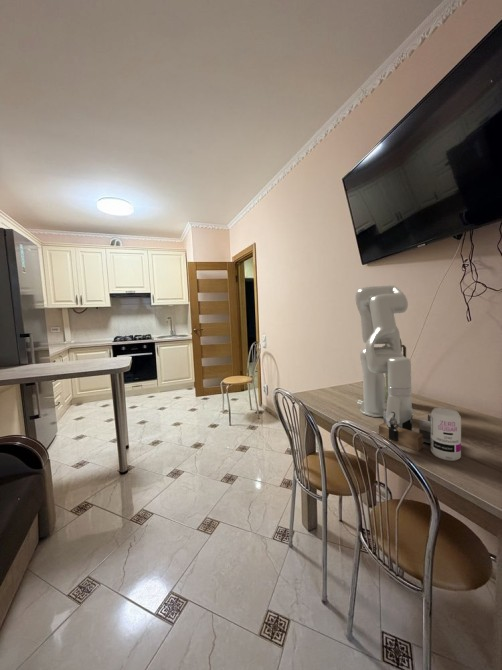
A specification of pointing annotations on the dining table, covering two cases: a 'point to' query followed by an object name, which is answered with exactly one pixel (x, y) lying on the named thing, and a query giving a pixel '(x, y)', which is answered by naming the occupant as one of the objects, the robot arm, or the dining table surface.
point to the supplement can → (446, 434)
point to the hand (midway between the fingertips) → (400, 436)
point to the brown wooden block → (404, 437)
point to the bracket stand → (423, 427)
